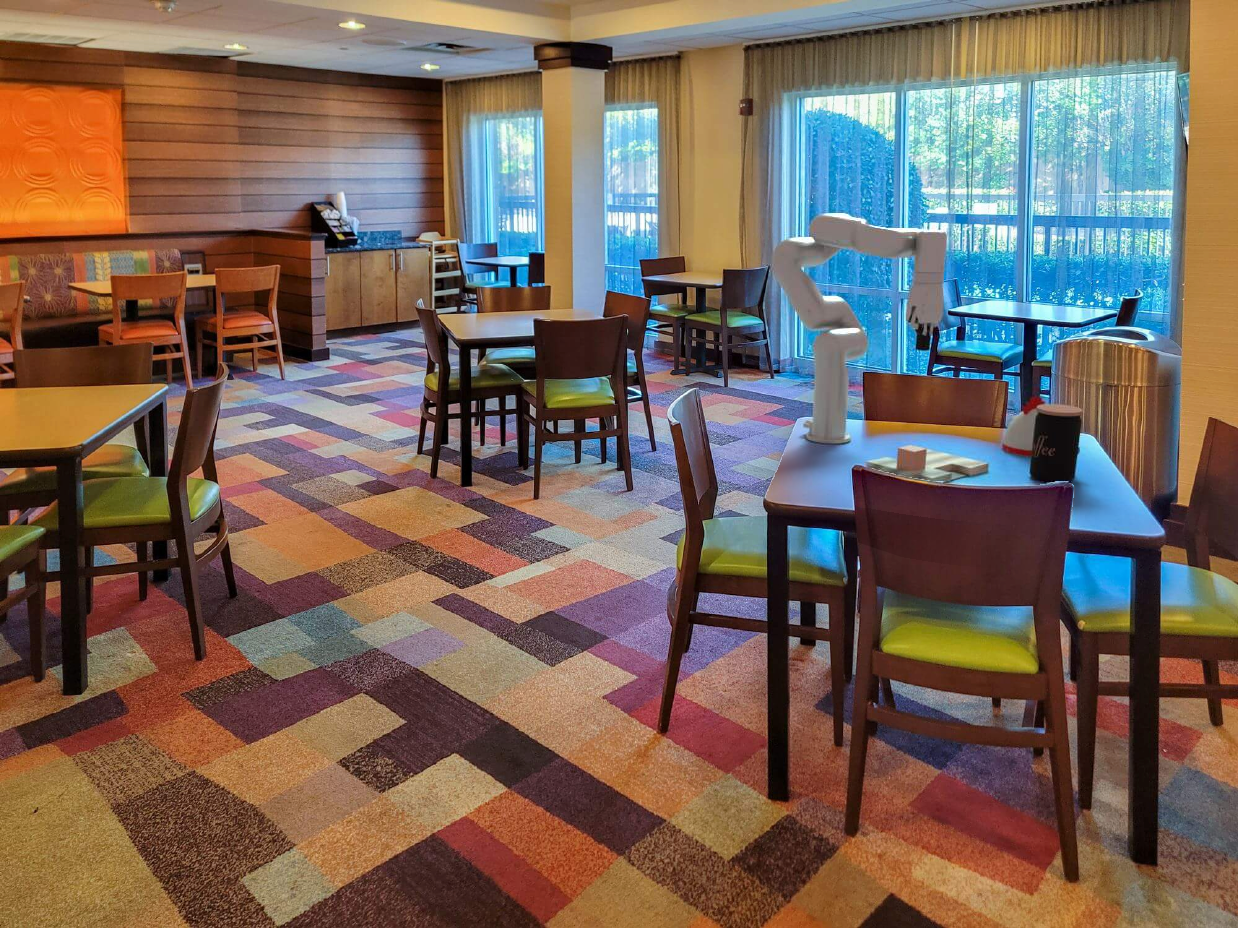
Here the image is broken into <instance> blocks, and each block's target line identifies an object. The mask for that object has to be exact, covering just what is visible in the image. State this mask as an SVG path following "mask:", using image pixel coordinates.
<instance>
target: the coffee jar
mask: <svg viewBox="0 0 1238 928" xmlns="http://www.w3.org/2000/svg"><path fill="white" fill-rule="evenodd" d="M1037 412H1038V414H1037V415H1036V417H1035V426H1034V435H1033V444H1032V453H1031V456H1030V462H1029V472H1028V473H1029V475H1030V477H1031V478H1032V479H1033V480H1034V481H1037V480H1038V481H1037V482H1042V483H1045V484H1047V483H1046V482H1055V481H1069V482H1070V483H1071V482H1072V481H1073V480H1074V479H1075V477H1076V470H1077V462H1078V455H1079V454H1078V447H1079V445H1080V437H1081V431H1082V422H1083V421H1082V418H1081V416H1082V415H1083V413H1084V409H1082V408H1080V407H1077V406H1073V405H1067V404H1057V403H1054V404H1053V403H1045V404H1043V405H1038V406H1037ZM1079 448H1080V447H1079Z"/></svg>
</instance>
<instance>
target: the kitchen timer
mask: <svg viewBox="0 0 1238 928" xmlns="http://www.w3.org/2000/svg"><path fill="white" fill-rule="evenodd" d="M1025 404H1026V406H1022V411H1021V412H1019V413H1018V414H1017V415H1016V416H1015V417H1014V418H1013V419H1012V420H1011V422H1009V423H1007V425H1006V431H1005V433H1004V436H1003V439H1002V444H1001V445H1002V446H1001V448H1002V450H1003V451H1005V452H1006V453H1010V454H1014V455H1020V456H1025V457H1031V453H1032V444H1033V435H1034V426H1035V417H1036V415H1037V414H1038V412H1037V406H1038V405H1043V404H1046V401H1045V400H1043V397H1041V396H1038V397H1036V396H1034V397H1030V399H1029V401H1026V402H1025Z"/></svg>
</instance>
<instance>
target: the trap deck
mask: <svg viewBox="0 0 1238 928" xmlns="http://www.w3.org/2000/svg"><path fill="white" fill-rule="evenodd" d="M926 449H927V448H926ZM989 465H990V464H989V462H985V461H981V460H976V459H974V458H973V459H971V458H969V457H968V458H967V457H963V456H958V455H955V454H951V453H946V452H942V451H938V450H937V451H936V450H932V449H927V453H926V465H925V468H924V469H920V470H916V471H910V470H906V469H902V468H898V467H897V458H892V457H888V456H884V457H880V458H875V459H871V460H867V461H866V463H865V468H866V467H868V468H874V469H876V470H881V471H883V472H889V473H894V474H896V475H901V476H905V477H912V478H918V479H924V480H930V481H948V482H952V481H955V480H960V479H962V478H967V477H970V476H974V475H977V474H981V473H985V472H989ZM951 480H952V481H951Z"/></svg>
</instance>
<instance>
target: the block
mask: <svg viewBox="0 0 1238 928" xmlns="http://www.w3.org/2000/svg"><path fill="white" fill-rule="evenodd" d="M926 453H927V448H925V447H921V446H916V445H911V444H909V445H905V446H901V447H897V457H896V459H897V467H898V468H902V469H906V470H910V471H916V470H920V469H924V468H925V465H926Z"/></svg>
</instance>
